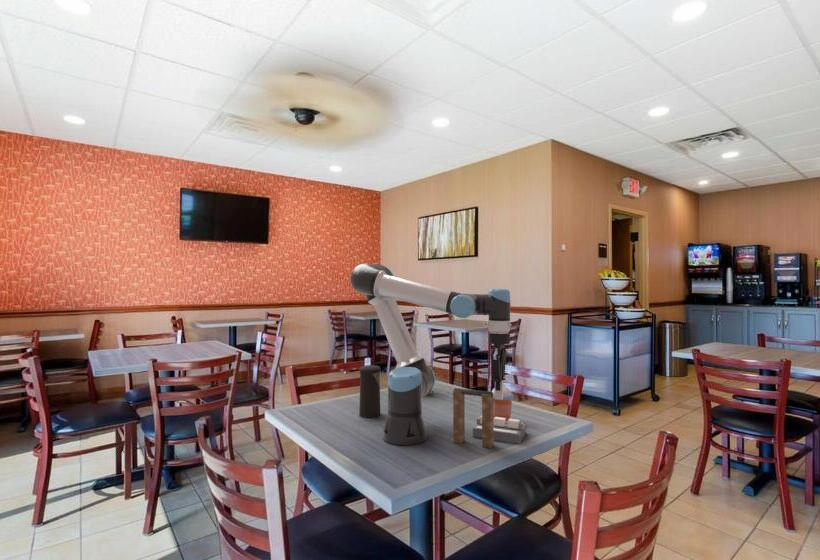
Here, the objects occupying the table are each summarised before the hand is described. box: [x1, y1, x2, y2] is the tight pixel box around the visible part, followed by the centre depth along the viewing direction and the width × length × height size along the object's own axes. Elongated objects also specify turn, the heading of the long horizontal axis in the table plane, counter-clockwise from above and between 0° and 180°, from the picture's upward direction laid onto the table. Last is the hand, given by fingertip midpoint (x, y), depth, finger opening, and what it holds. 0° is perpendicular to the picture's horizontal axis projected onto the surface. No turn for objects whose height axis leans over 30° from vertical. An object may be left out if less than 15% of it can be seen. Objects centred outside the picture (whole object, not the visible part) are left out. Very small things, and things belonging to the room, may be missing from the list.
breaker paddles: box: [479, 414, 521, 429], centre depth 153 cm, size 14×2×2 cm, turn 64°
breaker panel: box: [472, 416, 527, 445], centre depth 153 cm, size 16×12×5 cm
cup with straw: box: [491, 380, 514, 422], centre depth 167 cm, size 9×9×18 cm
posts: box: [452, 390, 495, 449], centre depth 144 cm, size 13×4×17 cm, turn 64°
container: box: [358, 364, 381, 418], centre depth 177 cm, size 9×9×20 cm
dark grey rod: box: [452, 387, 493, 397], centre depth 145 cm, size 14×2×2 cm, turn 64°
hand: (498, 399), depth 153 cm, fingers closed
